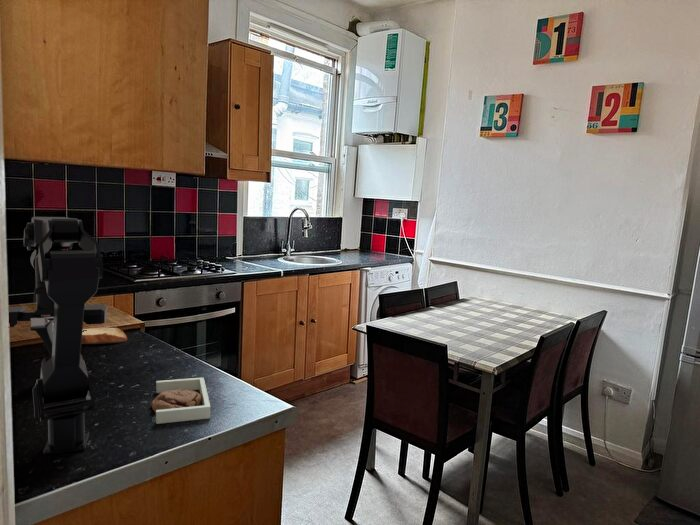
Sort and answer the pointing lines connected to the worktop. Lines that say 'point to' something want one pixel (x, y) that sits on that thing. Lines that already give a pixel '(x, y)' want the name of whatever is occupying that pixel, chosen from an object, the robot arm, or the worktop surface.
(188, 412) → the box
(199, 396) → the cookie
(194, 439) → the worktop surface
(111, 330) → the slice of bread
